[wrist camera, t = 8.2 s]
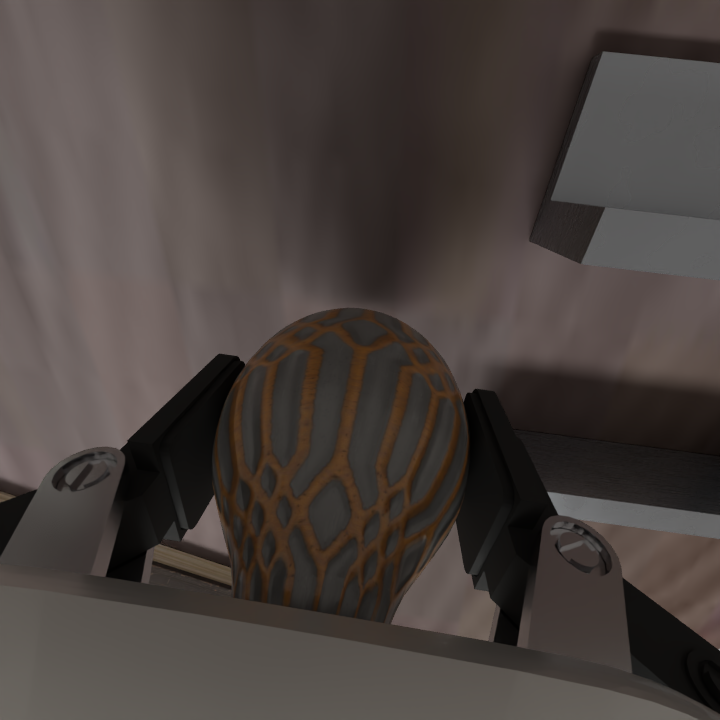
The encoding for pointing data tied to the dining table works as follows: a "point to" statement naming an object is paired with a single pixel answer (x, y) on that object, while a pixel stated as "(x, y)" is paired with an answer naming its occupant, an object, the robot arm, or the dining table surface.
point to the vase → (339, 464)
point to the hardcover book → (183, 570)
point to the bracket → (636, 265)
